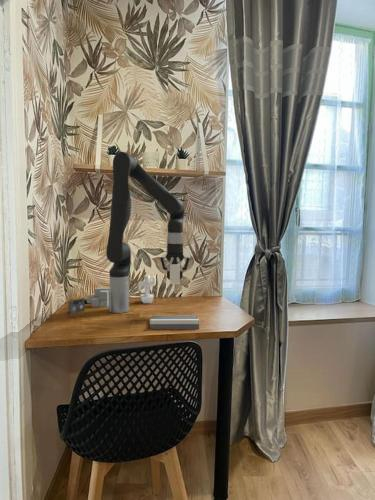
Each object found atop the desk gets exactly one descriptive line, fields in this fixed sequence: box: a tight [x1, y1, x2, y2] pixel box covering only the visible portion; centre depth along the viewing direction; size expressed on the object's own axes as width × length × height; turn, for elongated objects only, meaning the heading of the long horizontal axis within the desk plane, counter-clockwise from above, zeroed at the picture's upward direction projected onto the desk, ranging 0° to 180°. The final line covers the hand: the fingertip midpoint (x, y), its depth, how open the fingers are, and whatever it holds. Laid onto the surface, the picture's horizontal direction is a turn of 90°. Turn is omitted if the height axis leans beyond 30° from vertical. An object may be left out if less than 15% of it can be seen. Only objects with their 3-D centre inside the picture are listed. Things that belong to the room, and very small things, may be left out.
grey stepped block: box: [86, 286, 110, 308], centre depth 164 cm, size 12×12×8 cm
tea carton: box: [169, 264, 181, 285], centre depth 144 cm, size 5×7×9 cm, turn 3°
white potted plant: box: [137, 274, 157, 304], centre depth 169 cm, size 7×9×15 cm
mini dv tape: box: [67, 297, 86, 315], centre depth 149 cm, size 8×2×6 cm, turn 148°
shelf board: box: [149, 314, 200, 330], centre depth 132 cm, size 20×12×4 cm, turn 92°
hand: (174, 278), depth 145 cm, fingers closed on tea carton, 4 cm apart
